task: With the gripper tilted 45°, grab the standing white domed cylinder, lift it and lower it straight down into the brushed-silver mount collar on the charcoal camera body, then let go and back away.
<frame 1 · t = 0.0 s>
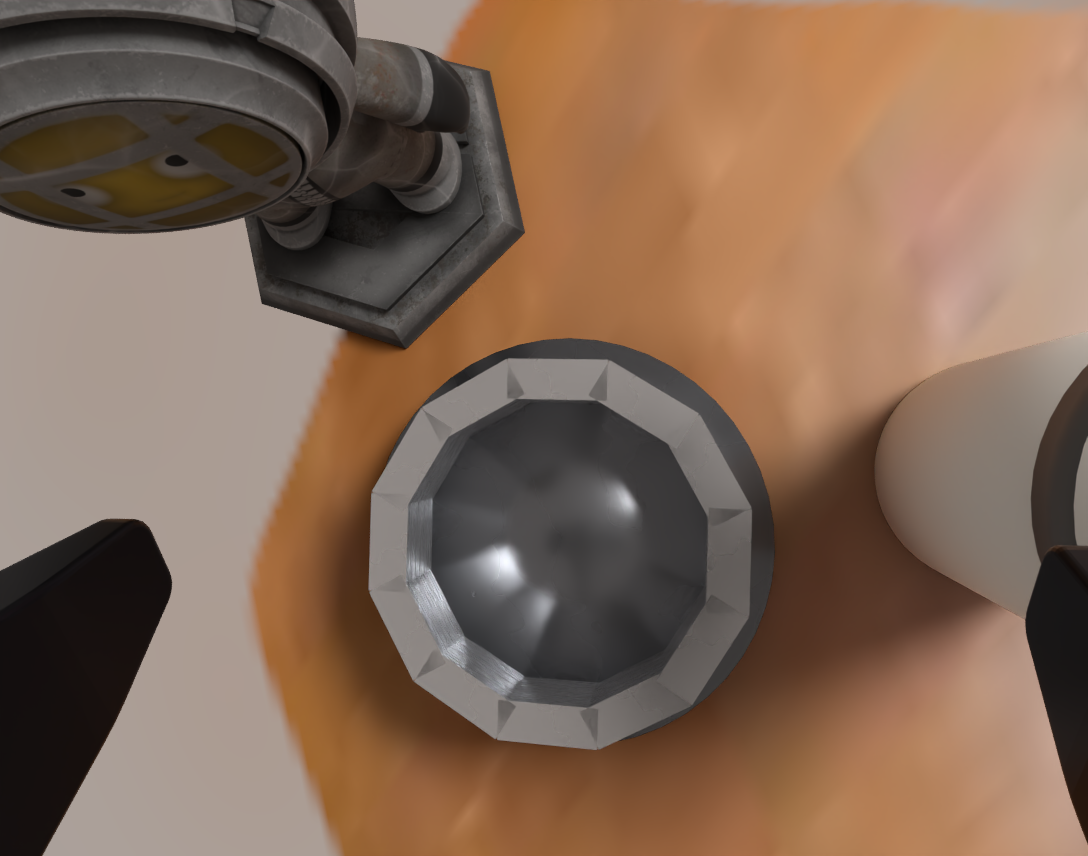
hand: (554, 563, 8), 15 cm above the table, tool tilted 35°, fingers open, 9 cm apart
white domed cylinder: (994, 472, 21), on the table
mount: (572, 534, 23), on the table
figurine: (375, 193, 24), on the table
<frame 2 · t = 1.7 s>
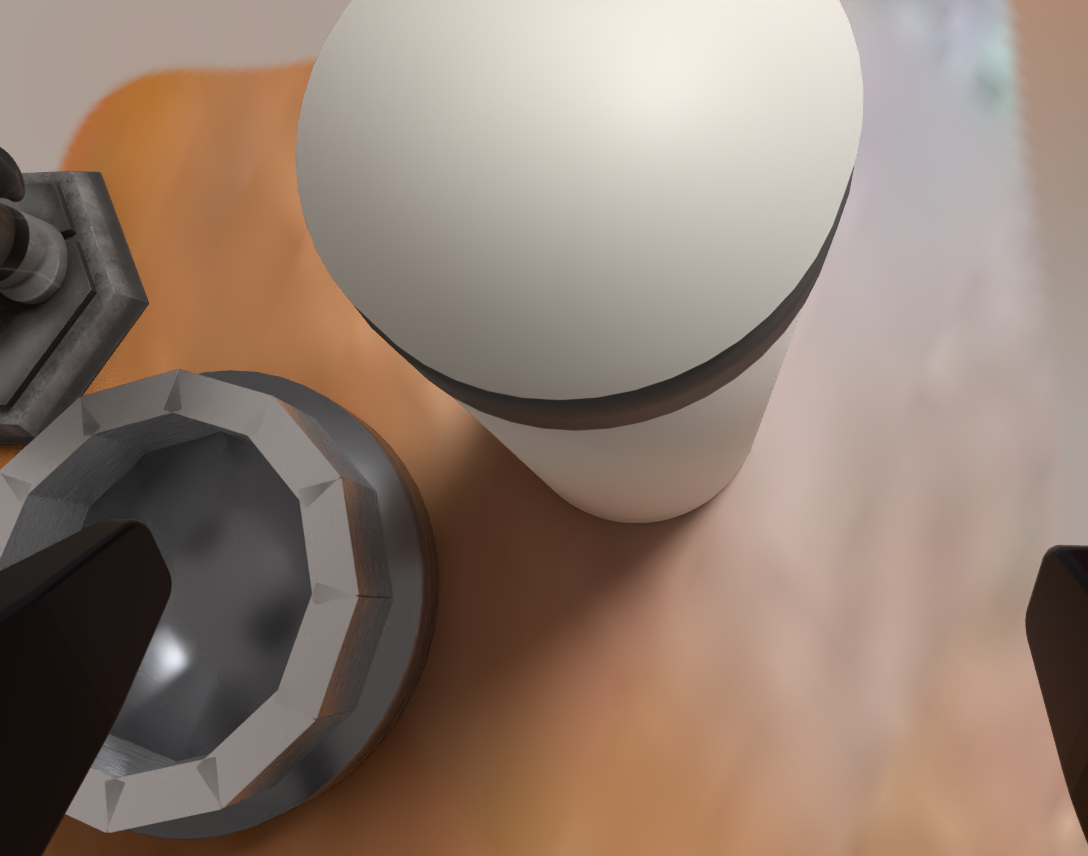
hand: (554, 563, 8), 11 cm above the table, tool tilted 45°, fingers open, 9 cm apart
white domed cylinder: (635, 403, 20), on the table
mount: (233, 591, 21), on the table
figurine: (8, 307, 24), on the table
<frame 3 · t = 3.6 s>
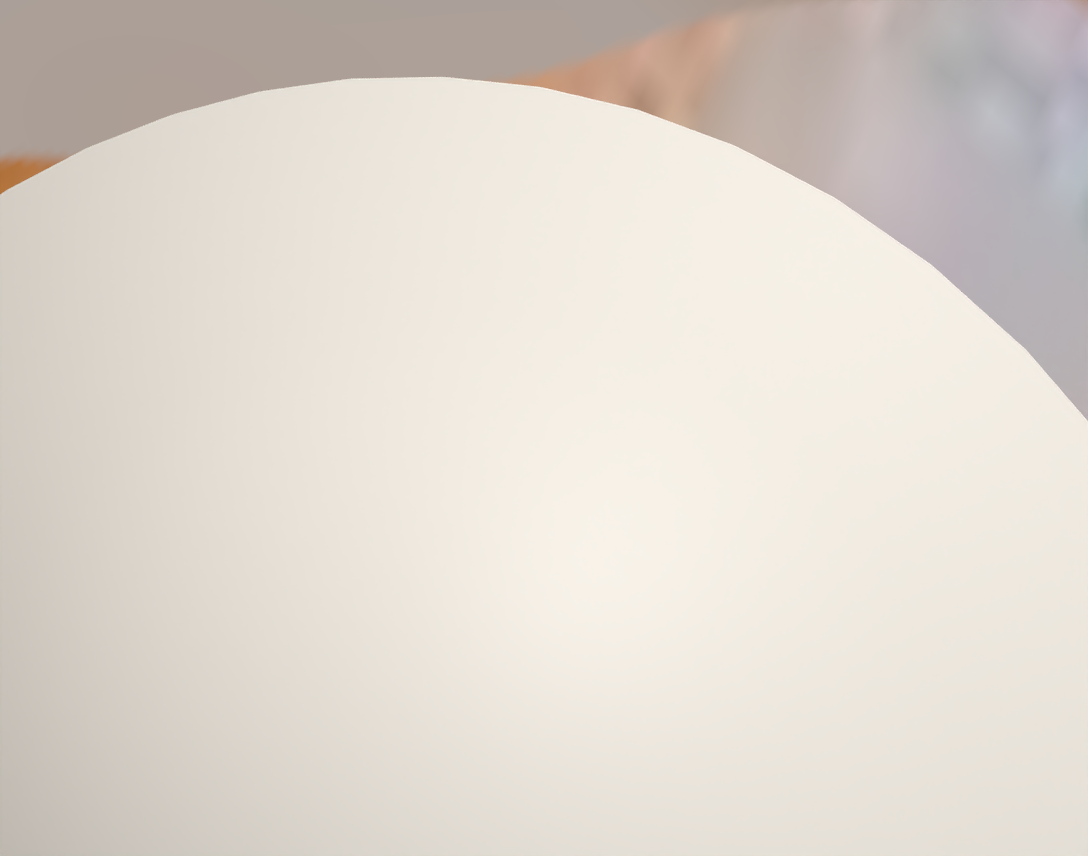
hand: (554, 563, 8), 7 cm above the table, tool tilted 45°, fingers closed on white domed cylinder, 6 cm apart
white domed cylinder: (611, 664, 14), on the table, touching gripper
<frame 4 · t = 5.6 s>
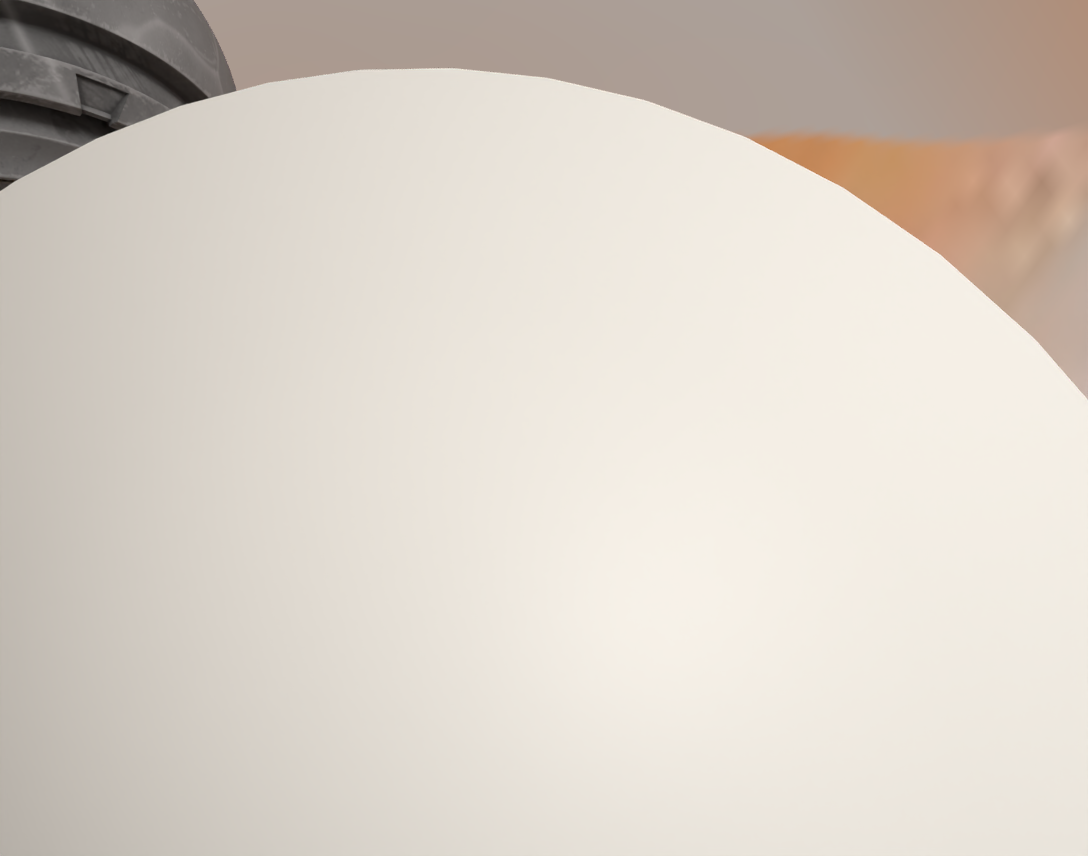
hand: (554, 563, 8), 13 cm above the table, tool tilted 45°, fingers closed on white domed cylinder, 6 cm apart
white domed cylinder: (613, 662, 14), point 7 cm above the table, touching gripper
figurine: (305, 323, 24), on the table
when the fingers open (9 cm above the table, at t = 7.7 s): white domed cylinder stays where it is, resting on mount.
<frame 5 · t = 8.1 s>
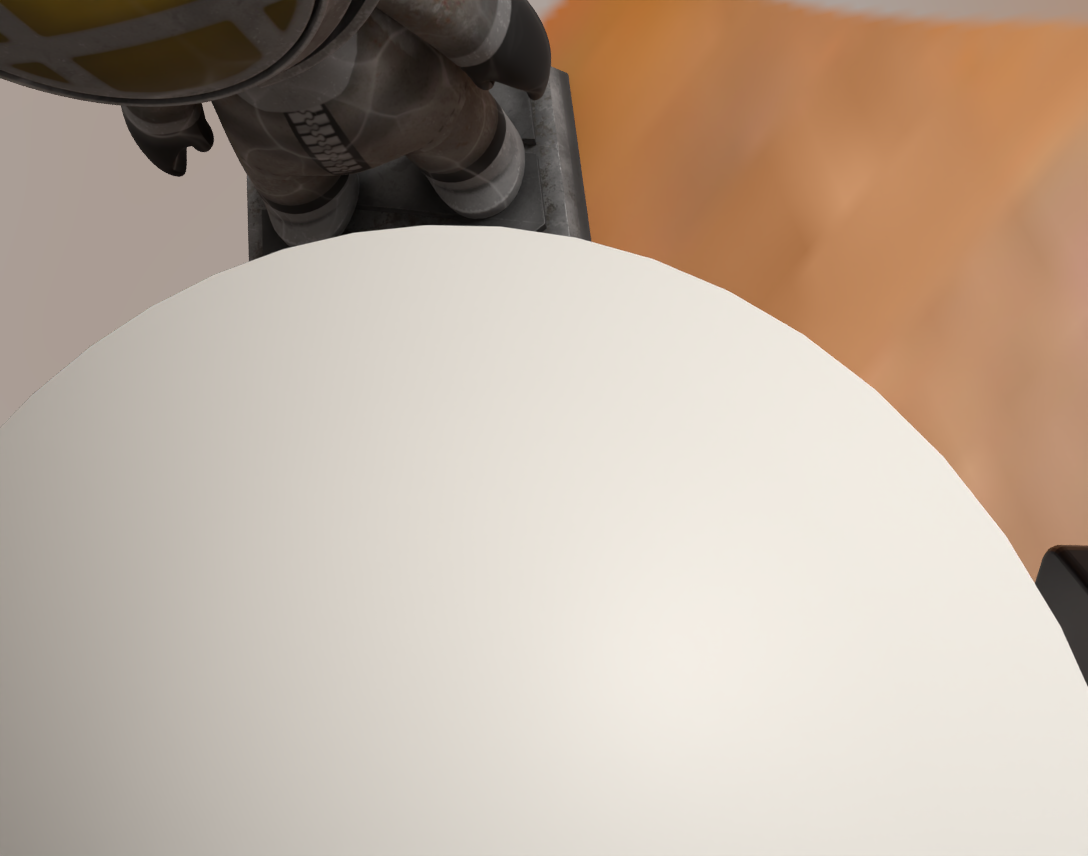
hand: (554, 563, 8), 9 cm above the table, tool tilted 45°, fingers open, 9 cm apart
white domed cylinder: (616, 668, 15), point 2 cm above the table, touching mount
figurine: (412, 201, 20), on the table
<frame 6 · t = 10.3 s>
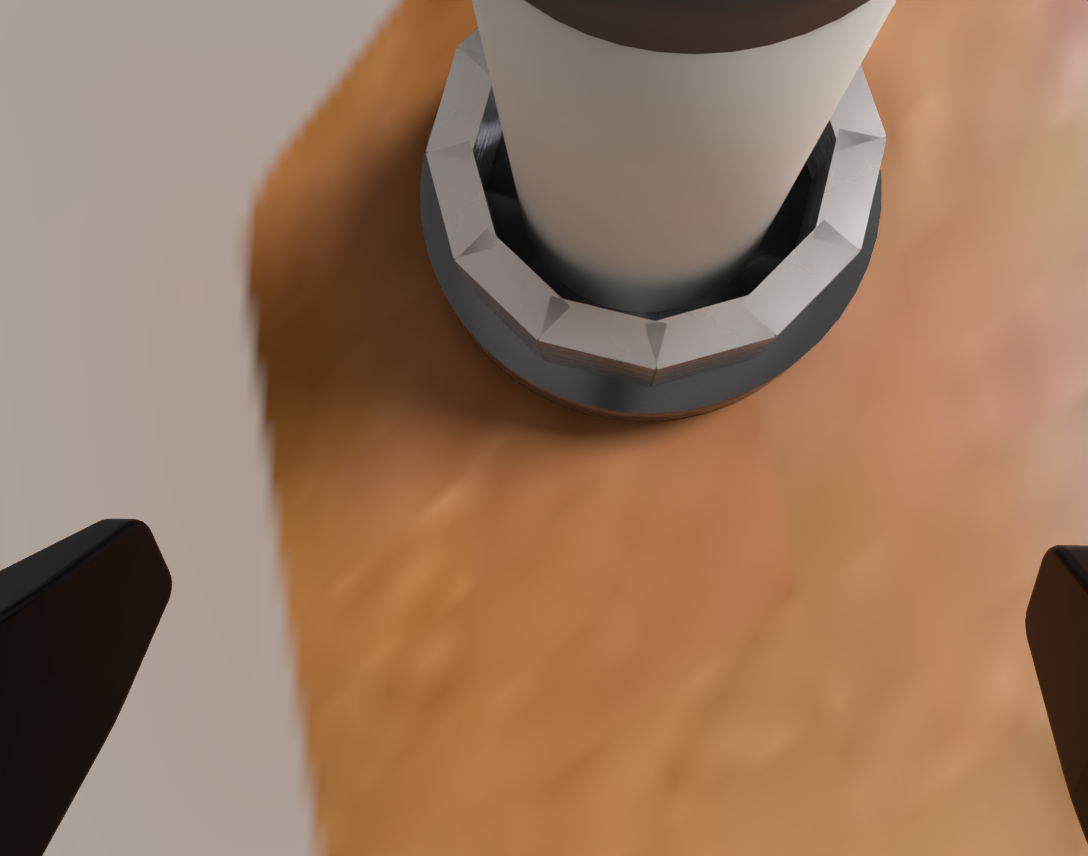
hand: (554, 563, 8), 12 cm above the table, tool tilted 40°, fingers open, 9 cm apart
white domed cylinder: (645, 190, 19), point 2 cm above the table, touching mount
mount: (642, 210, 21), on the table
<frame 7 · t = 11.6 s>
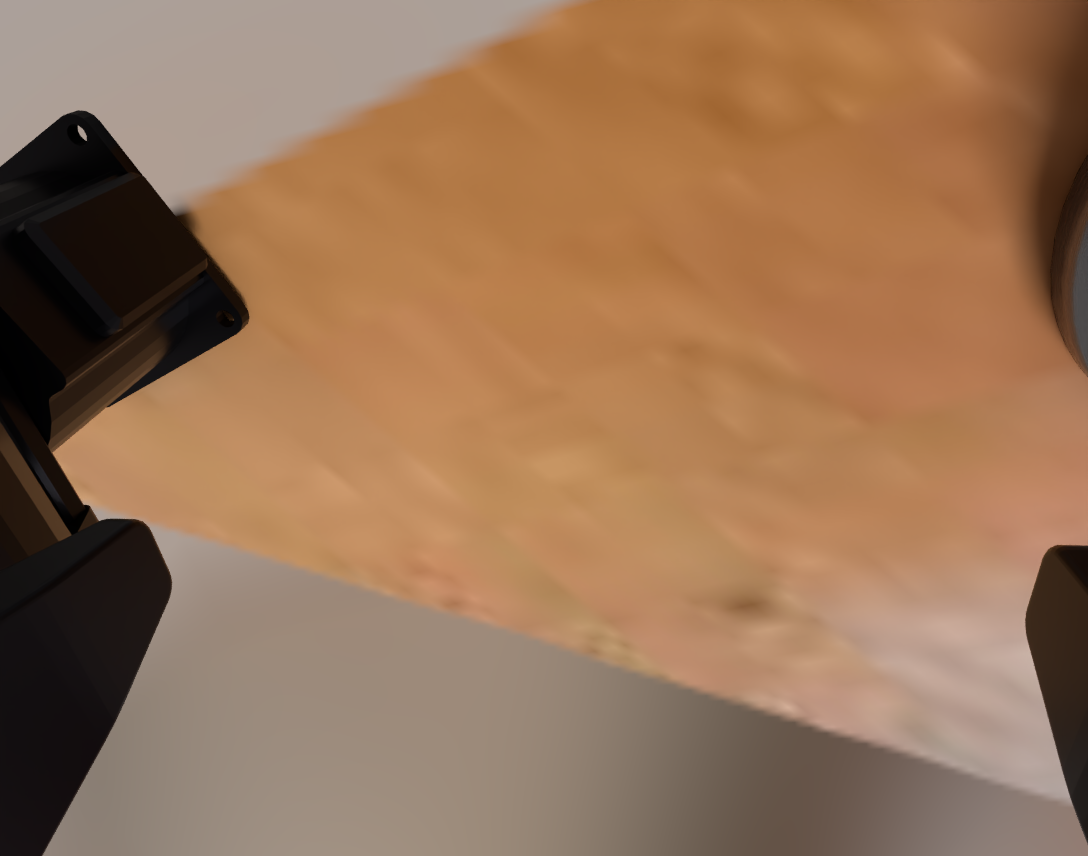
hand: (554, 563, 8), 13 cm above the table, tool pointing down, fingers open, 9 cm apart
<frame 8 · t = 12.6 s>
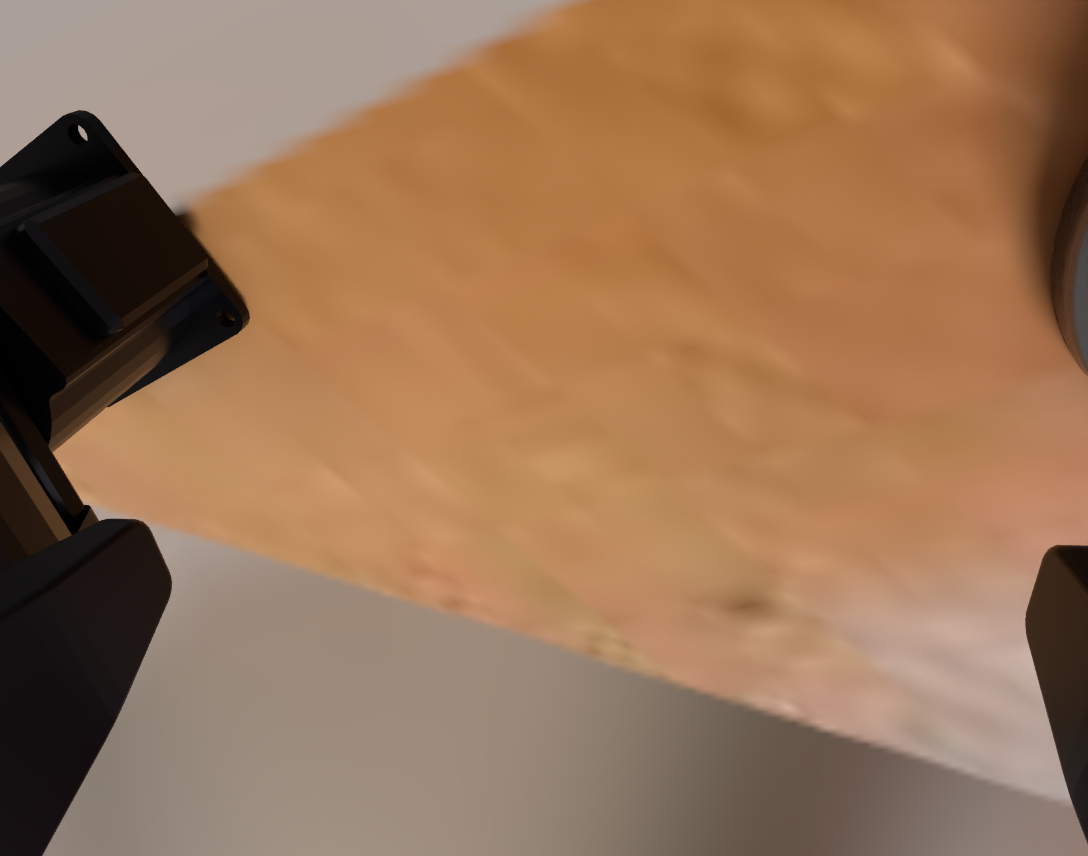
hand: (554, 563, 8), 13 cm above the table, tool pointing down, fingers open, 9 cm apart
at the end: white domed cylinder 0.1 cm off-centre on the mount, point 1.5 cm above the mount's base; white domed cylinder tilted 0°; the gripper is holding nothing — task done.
